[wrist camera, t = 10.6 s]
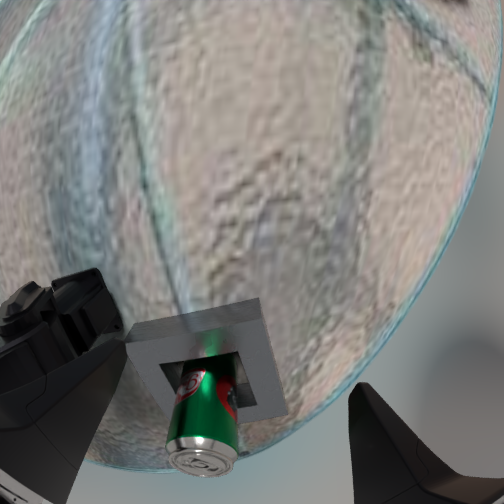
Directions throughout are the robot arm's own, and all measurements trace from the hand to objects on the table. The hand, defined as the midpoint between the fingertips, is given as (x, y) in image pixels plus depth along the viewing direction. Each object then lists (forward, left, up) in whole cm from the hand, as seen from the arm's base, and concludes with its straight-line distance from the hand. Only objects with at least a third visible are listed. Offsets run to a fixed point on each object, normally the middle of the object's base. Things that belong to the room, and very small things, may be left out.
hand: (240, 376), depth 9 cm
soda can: (-5, -9, -14) cm, 18 cm away
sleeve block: (-5, -10, -14) cm, 17 cm away
